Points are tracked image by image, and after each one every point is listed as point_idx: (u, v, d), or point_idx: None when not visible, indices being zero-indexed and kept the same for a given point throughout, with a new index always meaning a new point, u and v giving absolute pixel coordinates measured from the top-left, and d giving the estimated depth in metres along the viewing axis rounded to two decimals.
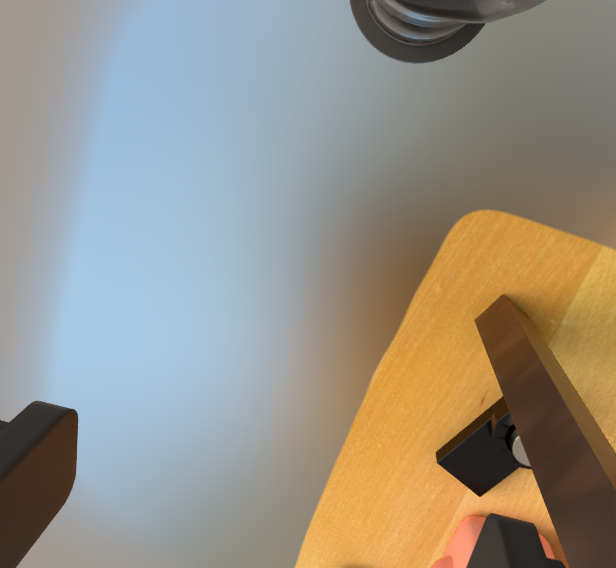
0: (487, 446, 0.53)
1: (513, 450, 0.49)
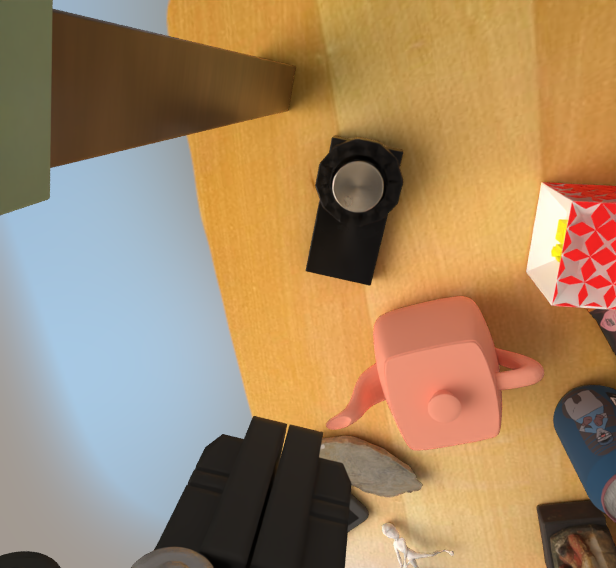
0: (338, 224, 0.47)
1: (338, 202, 0.43)
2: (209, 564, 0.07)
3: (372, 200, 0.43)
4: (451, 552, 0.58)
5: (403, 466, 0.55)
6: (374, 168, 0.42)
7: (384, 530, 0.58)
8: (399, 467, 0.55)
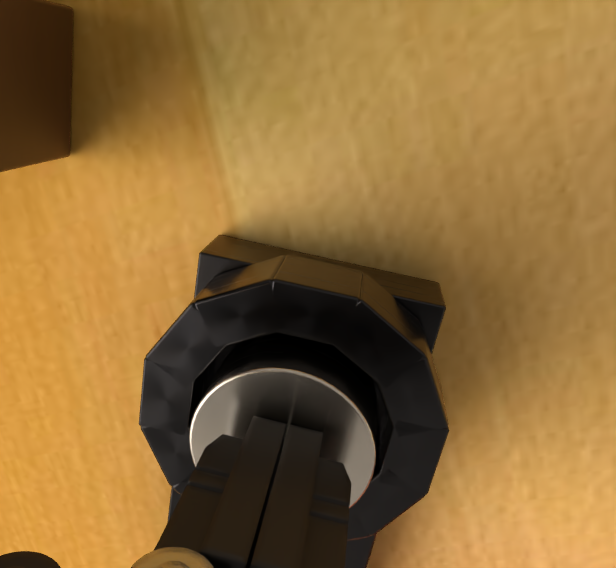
0: None
1: None
2: (209, 564, 0.07)
3: None
4: None
5: None
6: (340, 394, 0.11)
7: None
8: None
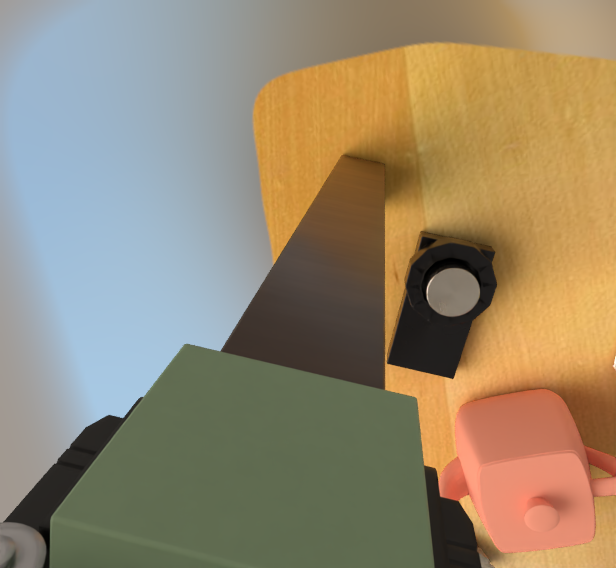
0: (424, 320, 0.46)
1: (432, 306, 0.42)
2: (42, 537, 0.07)
3: (467, 305, 0.42)
4: None
5: (477, 550, 0.54)
6: (471, 275, 0.41)
7: None
8: None
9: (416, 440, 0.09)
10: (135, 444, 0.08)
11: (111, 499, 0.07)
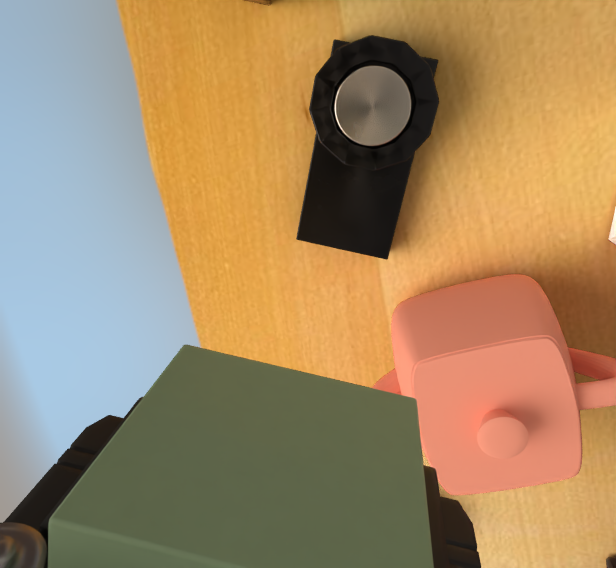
0: (343, 171, 0.33)
1: (344, 130, 0.29)
2: (42, 538, 0.07)
3: (394, 126, 0.29)
4: None
5: None
6: (397, 76, 0.28)
7: None
8: None
9: (416, 441, 0.09)
10: (134, 445, 0.08)
11: (110, 501, 0.07)
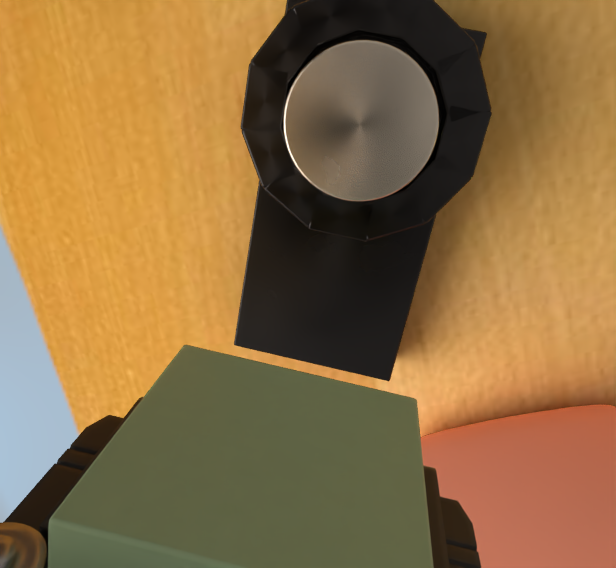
0: (310, 235, 0.19)
1: (303, 172, 0.14)
2: (42, 538, 0.07)
3: (404, 165, 0.14)
4: None
5: None
6: (412, 62, 0.13)
7: None
8: None
9: (416, 441, 0.09)
10: (134, 446, 0.08)
11: (110, 501, 0.07)
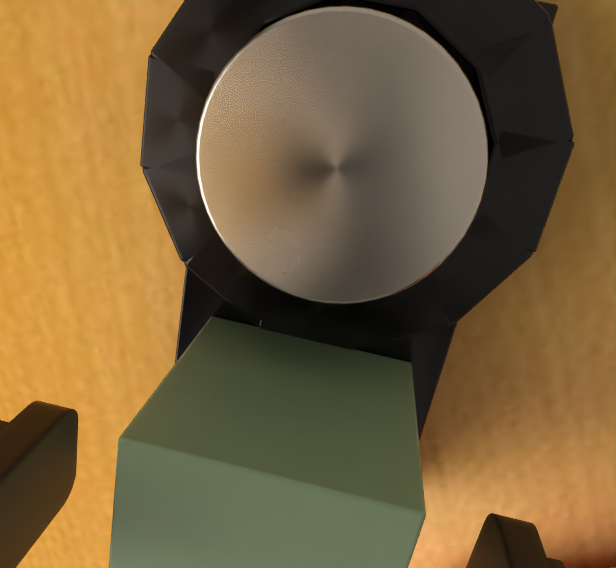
0: None
1: (236, 251, 0.08)
2: None
3: (419, 243, 0.08)
4: None
5: None
6: (437, 50, 0.07)
7: None
8: None
9: (410, 394, 0.11)
10: (178, 390, 0.09)
11: (164, 427, 0.08)
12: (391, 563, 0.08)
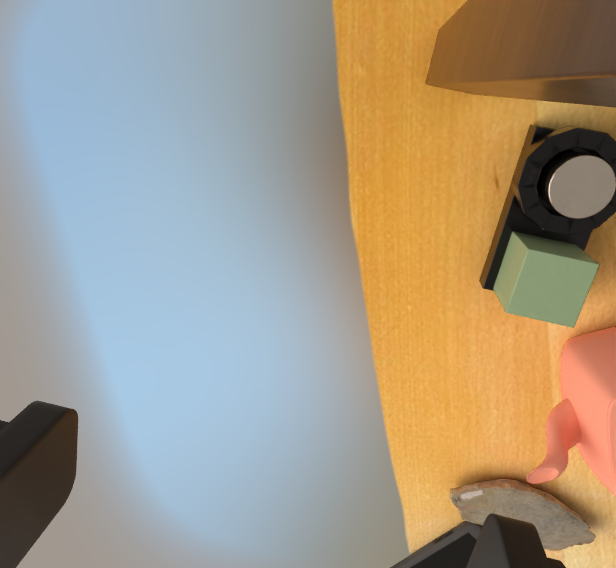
0: (531, 233, 0.39)
1: (554, 206, 0.35)
2: None
3: (598, 204, 0.34)
4: None
5: (574, 515, 0.47)
6: (606, 164, 0.34)
7: None
8: (570, 516, 0.47)
9: (581, 249, 0.37)
10: (528, 243, 0.36)
11: (534, 248, 0.35)
12: (590, 277, 0.35)
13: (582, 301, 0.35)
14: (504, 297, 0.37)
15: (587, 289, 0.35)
